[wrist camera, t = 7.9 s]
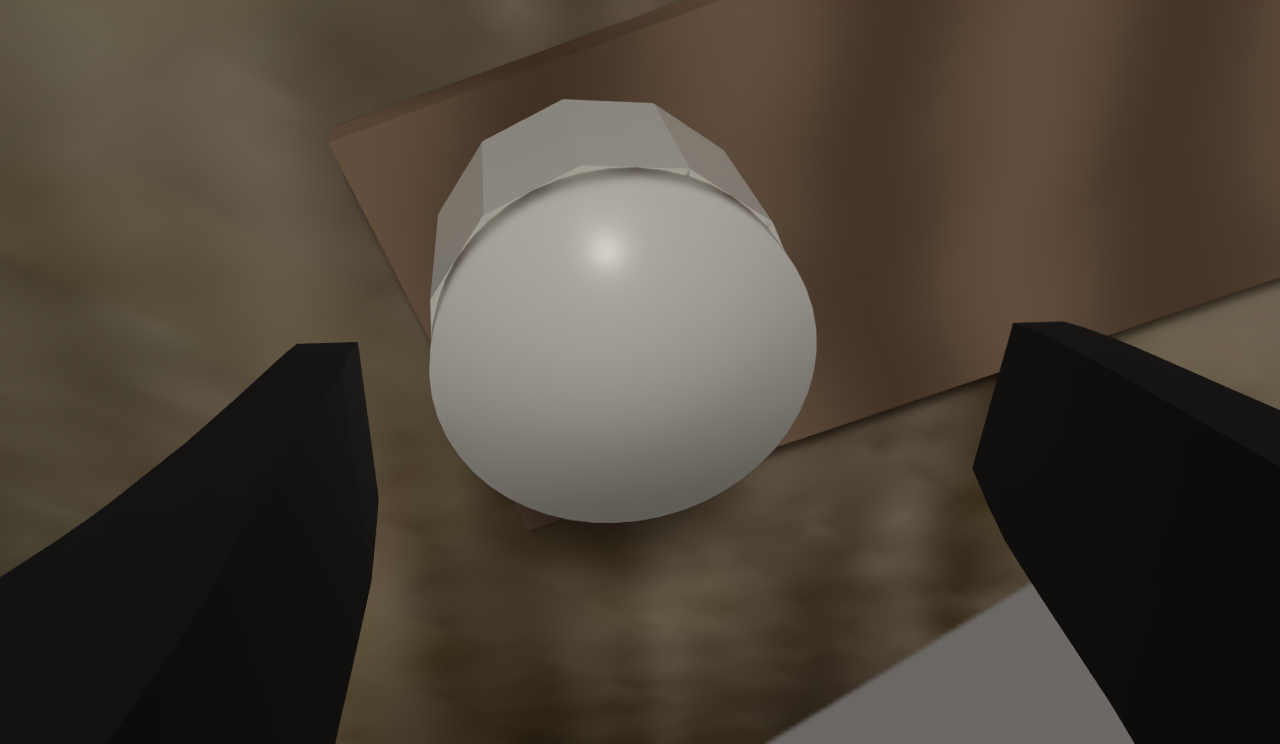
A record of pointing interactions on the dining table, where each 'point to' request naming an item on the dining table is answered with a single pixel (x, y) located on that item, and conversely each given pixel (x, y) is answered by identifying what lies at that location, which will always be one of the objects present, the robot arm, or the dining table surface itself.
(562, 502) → the cap
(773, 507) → the dining table surface
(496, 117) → the post board
